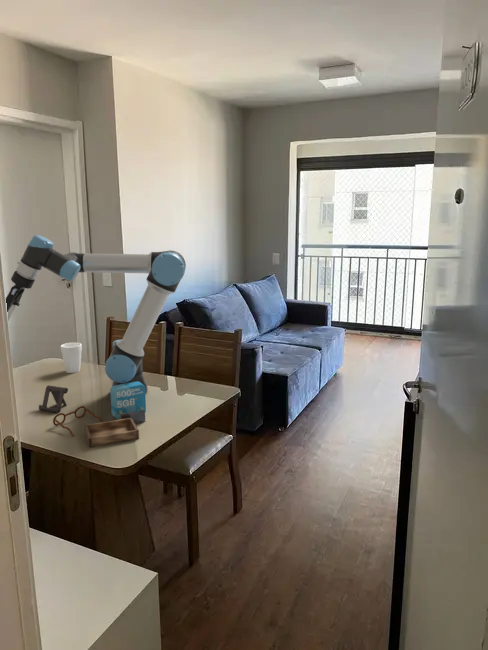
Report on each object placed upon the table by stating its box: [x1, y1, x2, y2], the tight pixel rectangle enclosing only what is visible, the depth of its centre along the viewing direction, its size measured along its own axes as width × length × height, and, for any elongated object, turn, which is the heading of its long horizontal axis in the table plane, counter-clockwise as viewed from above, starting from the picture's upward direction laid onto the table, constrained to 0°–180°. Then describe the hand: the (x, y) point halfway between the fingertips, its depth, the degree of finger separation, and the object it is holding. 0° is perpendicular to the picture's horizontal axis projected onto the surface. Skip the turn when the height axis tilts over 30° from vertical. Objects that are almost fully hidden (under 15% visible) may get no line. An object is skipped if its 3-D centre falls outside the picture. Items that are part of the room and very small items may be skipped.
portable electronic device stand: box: [38, 385, 69, 414], centre depth 187 cm, size 9×8×8 cm
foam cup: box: [60, 342, 83, 374], centre depth 232 cm, size 10×9×13 cm
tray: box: [84, 418, 140, 449], centre depth 164 cm, size 16×12×3 cm
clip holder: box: [119, 407, 146, 424], centre depth 182 cm, size 9×16×4 cm, turn 24°
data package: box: [110, 381, 147, 420], centre depth 181 cm, size 12×4×12 cm, turn 123°
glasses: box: [52, 405, 104, 437], centre depth 172 cm, size 13×13×5 cm
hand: (0, 323), depth 181 cm, fingers open, 13 cm apart
